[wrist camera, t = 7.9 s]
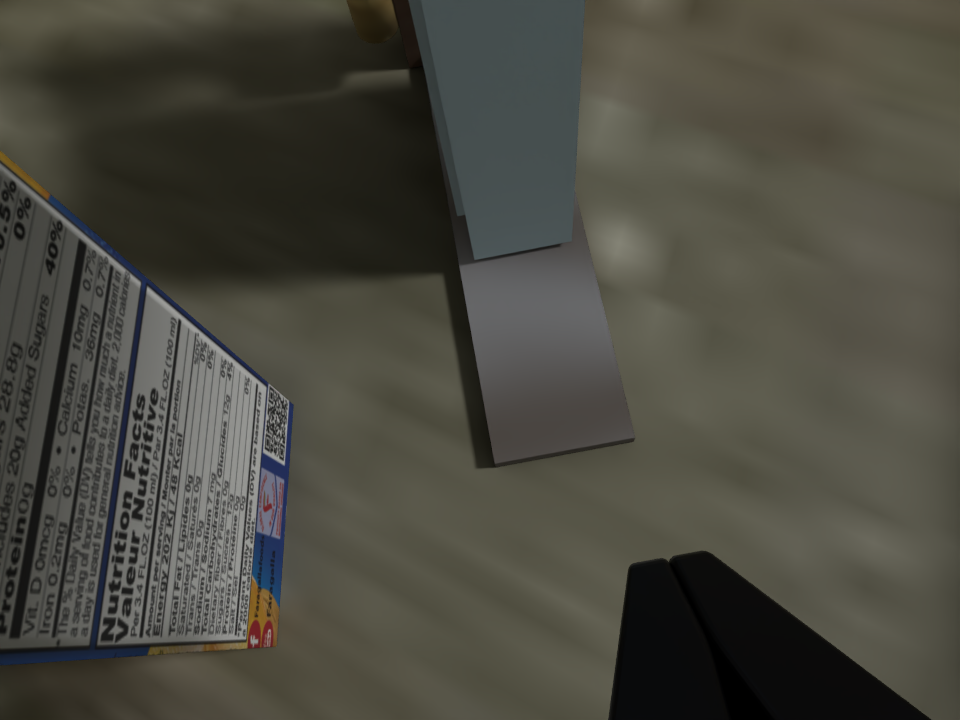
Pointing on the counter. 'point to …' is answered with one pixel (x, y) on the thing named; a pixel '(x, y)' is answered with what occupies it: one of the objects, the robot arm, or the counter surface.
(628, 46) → the counter surface
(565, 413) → the brown piece
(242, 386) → the blue cardboard tall box
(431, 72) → the blue-grey rectangular block
